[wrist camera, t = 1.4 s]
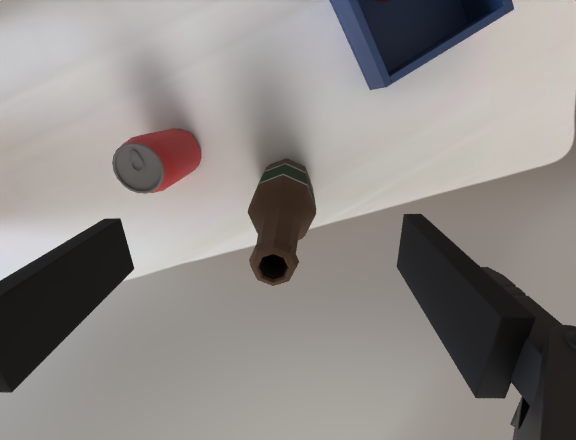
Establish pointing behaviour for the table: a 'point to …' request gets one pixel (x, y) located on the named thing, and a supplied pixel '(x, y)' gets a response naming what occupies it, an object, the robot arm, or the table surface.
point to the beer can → (156, 160)
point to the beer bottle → (280, 220)
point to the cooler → (409, 31)
